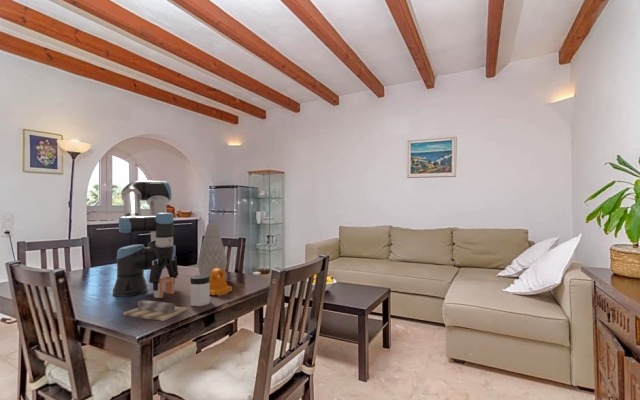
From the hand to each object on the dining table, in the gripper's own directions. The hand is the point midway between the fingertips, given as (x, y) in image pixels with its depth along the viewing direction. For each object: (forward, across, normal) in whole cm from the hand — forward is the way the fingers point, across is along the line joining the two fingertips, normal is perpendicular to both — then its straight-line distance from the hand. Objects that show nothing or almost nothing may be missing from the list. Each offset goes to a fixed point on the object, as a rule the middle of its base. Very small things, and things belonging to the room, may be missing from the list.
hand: (164, 294), depth 154 cm
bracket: (+2, +16, -18) cm, 25 cm away
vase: (+3, +36, 0) cm, 36 cm away
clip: (0, 0, 0) cm, 0 cm away
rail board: (+2, -16, -12) cm, 20 cm away
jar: (+2, 0, -20) cm, 21 cm away
